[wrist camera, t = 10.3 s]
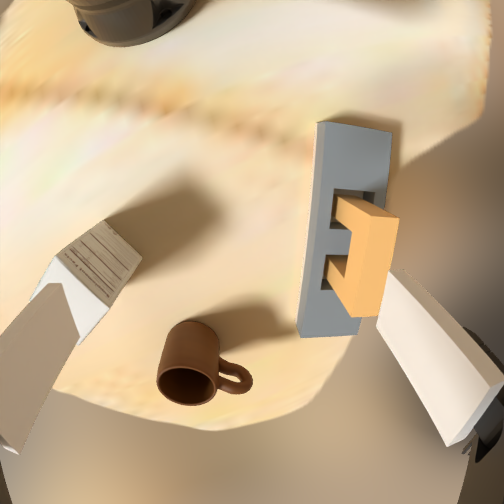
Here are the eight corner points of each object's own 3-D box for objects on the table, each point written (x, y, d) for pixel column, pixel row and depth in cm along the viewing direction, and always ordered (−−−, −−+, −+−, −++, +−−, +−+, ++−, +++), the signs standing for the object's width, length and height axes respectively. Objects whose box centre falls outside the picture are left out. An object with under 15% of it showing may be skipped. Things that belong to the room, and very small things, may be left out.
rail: (315, 123, 31) (325, 121, 28) (376, 132, 32) (392, 132, 28) (294, 320, 41) (300, 337, 37) (347, 318, 41) (357, 334, 38)
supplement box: (113, 292, 37) (77, 348, 26) (75, 255, 35) (26, 300, 23) (145, 257, 36) (111, 310, 24) (104, 217, 34) (53, 254, 22)
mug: (254, 327, 41) (261, 374, 32) (244, 366, 43) (248, 413, 34) (168, 314, 39) (155, 359, 30) (166, 355, 42) (155, 401, 33)
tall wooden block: (332, 193, 34) (371, 216, 24) (355, 195, 34) (399, 218, 24) (322, 272, 37) (351, 317, 27) (344, 272, 37) (377, 315, 28)
